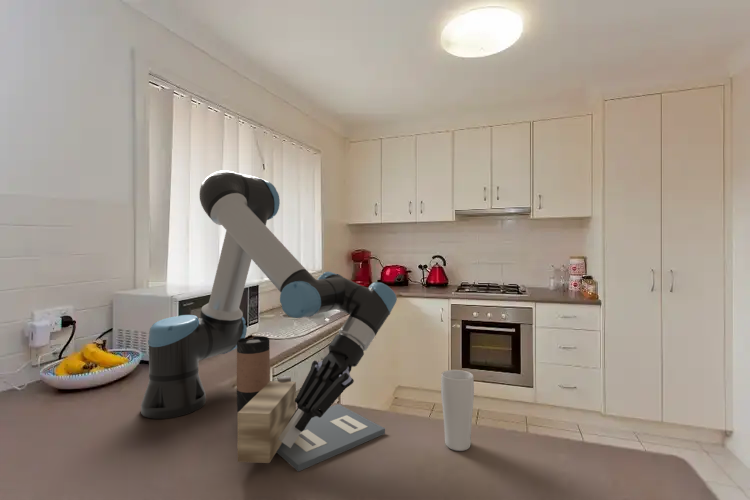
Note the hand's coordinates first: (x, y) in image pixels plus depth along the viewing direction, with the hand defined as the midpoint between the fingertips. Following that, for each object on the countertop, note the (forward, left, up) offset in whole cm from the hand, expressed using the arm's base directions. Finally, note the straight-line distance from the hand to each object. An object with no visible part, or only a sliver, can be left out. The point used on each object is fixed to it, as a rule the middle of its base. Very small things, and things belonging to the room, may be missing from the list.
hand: (284, 443), depth 73 cm
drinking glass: (+18, +31, -4) cm, 36 cm away
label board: (-5, +12, -4) cm, 13 cm away
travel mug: (-21, +3, -4) cm, 21 cm away
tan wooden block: (-7, +1, -1) cm, 7 cm away
